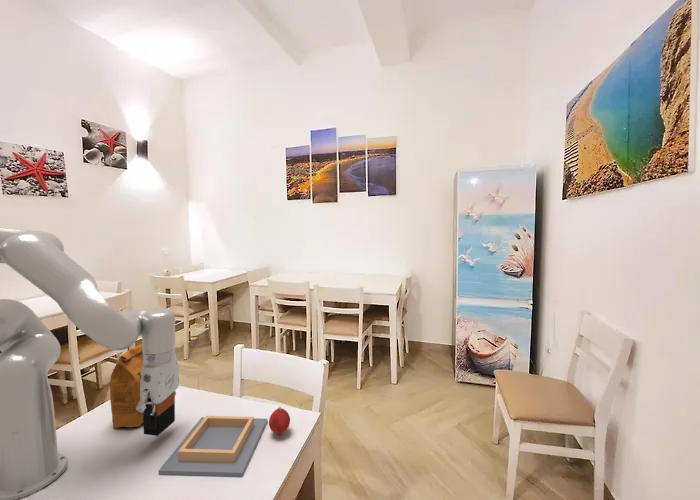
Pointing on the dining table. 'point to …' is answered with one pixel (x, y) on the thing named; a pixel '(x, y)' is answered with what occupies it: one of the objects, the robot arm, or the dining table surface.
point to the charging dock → (216, 447)
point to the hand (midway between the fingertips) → (159, 418)
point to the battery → (163, 415)
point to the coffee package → (126, 389)
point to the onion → (279, 421)
